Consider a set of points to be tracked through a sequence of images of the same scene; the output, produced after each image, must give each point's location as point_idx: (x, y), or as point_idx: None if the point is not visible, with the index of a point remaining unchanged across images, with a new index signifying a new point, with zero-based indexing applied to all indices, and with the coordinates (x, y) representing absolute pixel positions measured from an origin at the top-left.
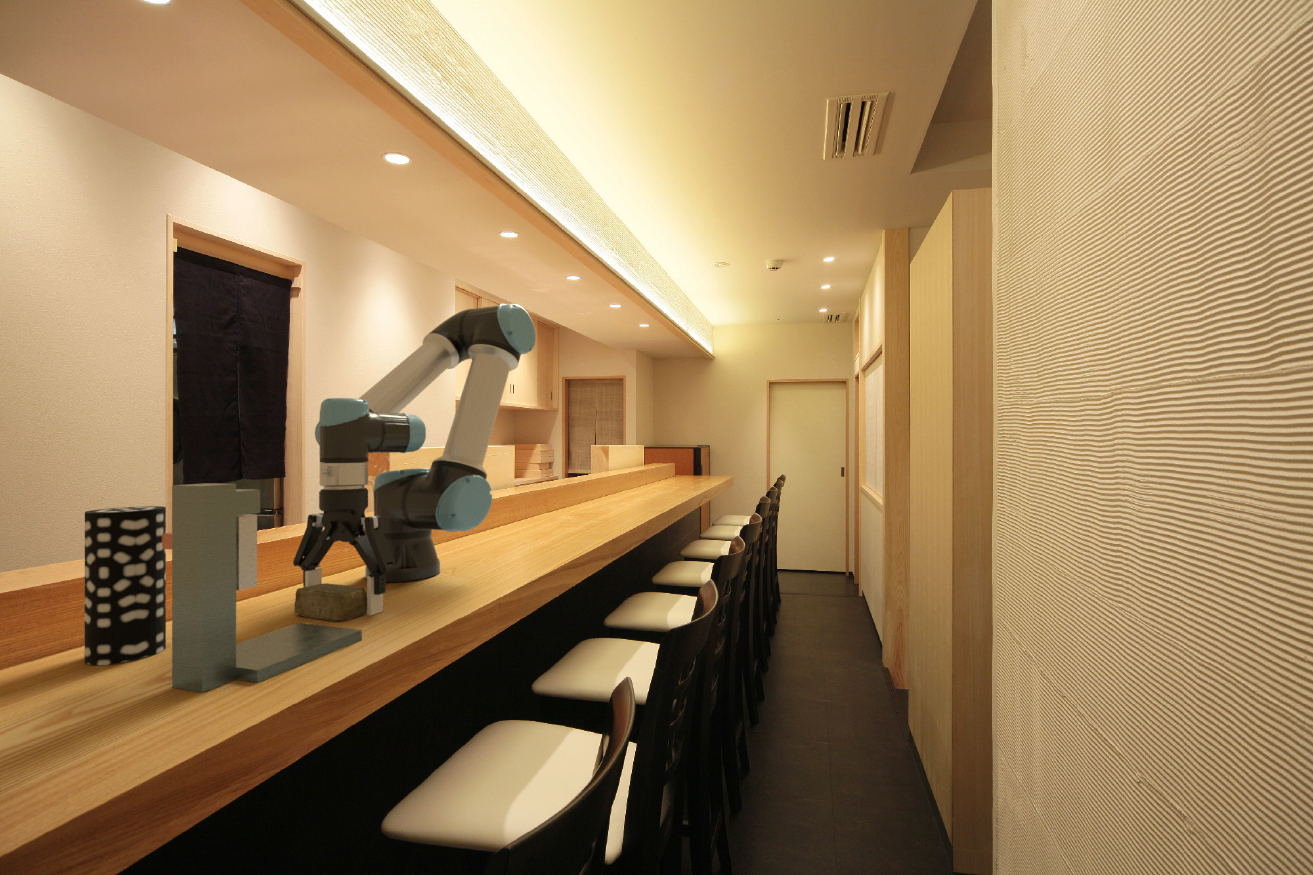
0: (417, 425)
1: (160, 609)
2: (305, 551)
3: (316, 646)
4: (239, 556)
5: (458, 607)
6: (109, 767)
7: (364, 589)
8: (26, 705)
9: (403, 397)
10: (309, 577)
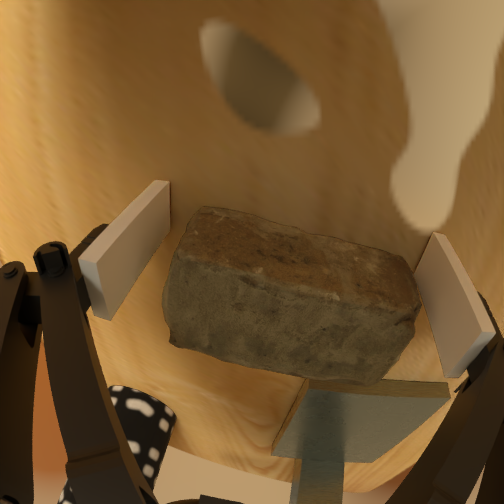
0: None
1: (153, 457)
2: (31, 366)
3: (405, 435)
4: None
5: None
6: (354, 484)
7: (412, 311)
8: (210, 458)
9: None
10: (122, 297)
